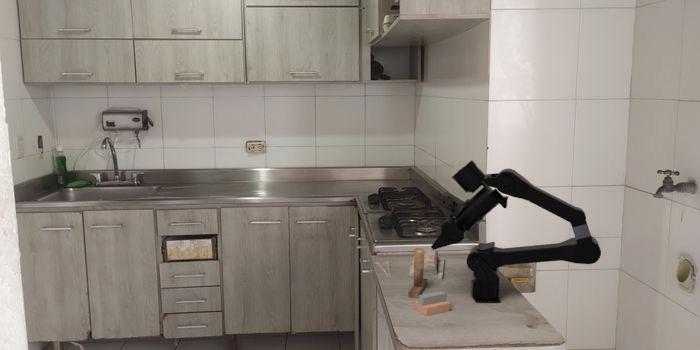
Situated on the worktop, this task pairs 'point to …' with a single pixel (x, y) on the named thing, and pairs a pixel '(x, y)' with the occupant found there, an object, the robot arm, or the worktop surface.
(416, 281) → the wooden stamp
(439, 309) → the fulcrum stand
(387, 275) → the pair of ivory hairpins
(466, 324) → the worktop surface
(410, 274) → the packaged product
